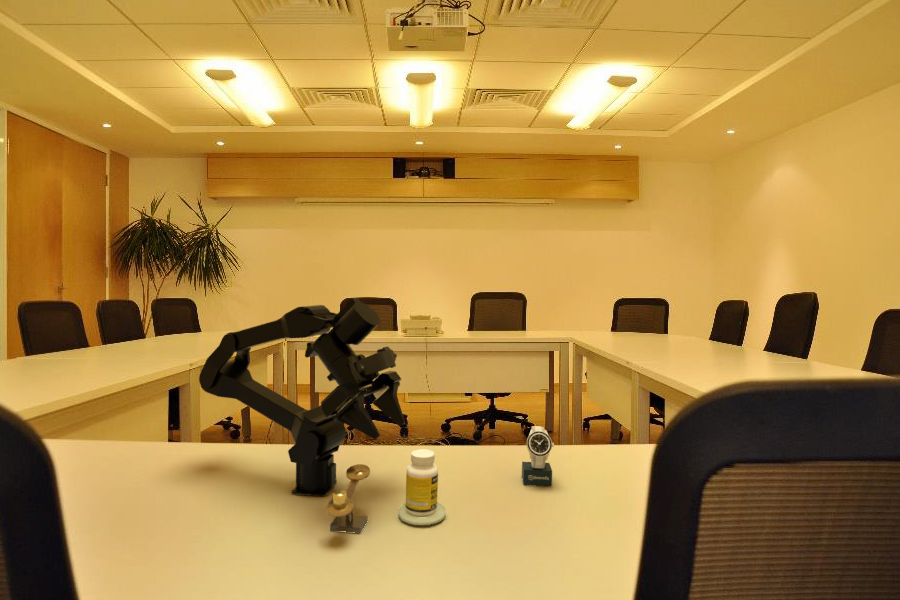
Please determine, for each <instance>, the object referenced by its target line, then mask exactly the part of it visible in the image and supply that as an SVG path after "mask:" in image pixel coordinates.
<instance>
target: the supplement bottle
mask: <svg viewBox="0 0 900 600" xmlns="http://www.w3.org/2000/svg"><path fill="white" fill-rule="evenodd" d="M435 458H436V456H435V451H432V450H431V449H415V450H413V451H412V452H411V453H410V461H411V463H410V464H408V465H407V468H406V473H405V474H406V477H405V478H406V479H405V480H406V481H405V487H406V488H405V503H406V504H405V508H406V511H407V512H408V513H410V514H412V515H416V516H427V515H430V514H433V513H434V512H435V511H436V509H437V502H438V488H439V468H438V467H437V465H436V464H435Z"/></svg>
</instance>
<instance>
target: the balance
mask: <svg viewBox="0 0 900 600" xmlns="http://www.w3.org/2000/svg"><path fill="white" fill-rule="evenodd" d="M370 474H371V469H370V467H369V466H368V465H366V464H363V463H362V464H360V463H358V464H354V465H351V466H349V467H347V469H346V472H345V475H346V478H347V479H349V480H351V481H350V483H349V485H348V486H347V489H346V490H336V491H334V492H333V493H332V495H333V496H332V498H333V499H332V500H330V501H329V502H328V503H327V505H326V513H327V514H328V515H329V516H331V517H334V519H333V520H332V521H331V523H330V525H329V532H333V531H346V532H355V533H361V534H362V532H363V530H364V529H365V527H366V525H367V524H368V522H369V515H364V514H354V509H355V508H354V505H355V504H354V492H355V490H356V489H357V486H358V485H359V482H360V481H363V480H365V479H367V478H368V477H369V476H370ZM367 521H368V522H367ZM366 523H367V524H366ZM365 524H366V525H365ZM364 526H365V527H364ZM363 528H364V529H363ZM362 529H363V530H362ZM361 531H362V532H361ZM355 533H354V534H355Z"/></svg>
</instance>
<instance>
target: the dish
mask: <svg viewBox="0 0 900 600" xmlns="http://www.w3.org/2000/svg"><path fill="white" fill-rule="evenodd" d="M405 504H406V502H405V503H402V504H401V505H400V506H399V508H398V517H399V519H400V520H402V521H403V522H405V523H406V524H409V525H412V524H413V525H412V526H416V525H428V526H431V524H432V525H435V524H437V523H439V522H441V521H442V520H444V519H445V518H446V514H447V513H446V512H447V509H446V507H445V505H443V504H442V503H440V502H438V501H437V509H436V511H435V512H434V513H433V514H430V515H427V516H416V515H412V514H410V513H408V512H407V511H406V508H405Z"/></svg>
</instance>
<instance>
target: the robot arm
mask: <svg viewBox="0 0 900 600" xmlns="http://www.w3.org/2000/svg"><path fill="white" fill-rule="evenodd" d="M380 324H381V320H380V316H379V315H378V313H377V311H376V310H375V309H373V308H371V307H370V306H369V305H367V304H366V303H364V302H362V301H361V300H360V299H359V298H358V297H353V298H352V297H351V298H349V300H347V302H346V303H345V304H344V306H343V307H342V309H341V310H339V312H338V313H335V312H332V311H330V309H329V308H327V307H326V306H325V305H324V304H318V305H317V304H315V305H306V306H305V305H304V306H303V305H302V306H297V307H295V308H293V309H292V310H290V311H287V312H286V313H284V314H283V315H282V316H281V317H280V318H278V319H276V320H272V321H269V322H266V323H262V324H258V325H255V326H252V327H248V328H244V329H242V330H237V331H231V332H227V333H225V334H224V335H223V337H222V338H221V341H220V343H219V344H218V346H217V347H216V348H215V349H214V350H213V352H211V354H210V355H208V357H206V358H207V359H206V360H205V362H204V365H203V367H202V368H201V370H200V372H199V373H200V374H199V378H198V381H199V384H200V385H199V386H200V387H201V389H202V390H203V391H204V392H205V393H207V394H210V395H212V396H215V397H217V398H226V399H234V400H236V401H238V402H240V403H242V404H243V405H246V407H249V408H250V409H252V410H254V411H256V412H257V413H259V414H260V415H263V416H264V417H266V418H267V419H269V420H270V421H272V422H273V423H275V424H277V425H279V426H281V427H282V428H284V429H286V430H287V431H289V432H290V434H291V436H292V438H293V440H294V443H295V444H294V445H292V446H291V447H290V448H289V449H288V452H287V453H288V457H289V461H290V462H291V463H293V464H294V463H295V487H294V488H293V489H292V490H291V494H293V495H304V496H315V497H325V496H327V495H328V493H329V492H330V491H331V489H333V488H334V487H335V485H336V484H337V482H338V481H337V463H336V462H334V461H335V459H334V456H335V455H334V454H333V453H337V452H338V451H339V450H340V449H339V448H340V446H341V444H342V443H343V442H344V441H345V438H346V435H347V433H346V432H347V431H346V427H345V425H347V426H349V427H351V428H353V429H355V430H357V431H359V432H361V433H362V434H364V435H366V436H368V437H369V438H371V439H374V440H377V439H379V437H380V435H381V434H380V432H379V430H378V428H377V426H376V425H375V423H374V421H373V420H372V417H371V416H370V414H369V413H368V411H367V409H366V408H365V397H368V398H369V399H370V400H372V401H373V402H372V405H374V406H375V407H376V408H377V409H378V410H380V411H381V412H383V413H384V414H385V415H386V416H387V417H388V418H390V419H391V420H392V421H393V422H395V424H397V425H398V426H400V427H401V426H403V425H405V423H406V420H405V419H406V418H405V417H404V414H403V412H402V408H401V405H400V403H399V398H398V391H399V390H398V389H399V387H400V386H401V383H400V382H401V381H402V377H401V376H400V375H399V374H398V372H397V371H395V370H388V371H385V370H387V369H389V368H391V369H393V368H395V367H397V364H396V360H397V357H398V355H397V353H396V352H395V351H394V350H393V349H391V348H390V347H389V346H383V347H382V348H378V349H377V350H376V353H373V354H371V355H368V356H365V355H364V354H361V353H360V354H357V353H355V351H354V349H353V348H352V347H351V345H354V346H359V345H360V344H361V343H362V342H363V341H364V340H366V338H367V337H368V336H369V335H370V334H371V333H372V332H373V331H374V330H375V329H376V328H377V327H378V326H379V325H380ZM317 336H318V337H317ZM310 337H317V338H316V339H315V340H314V341H310V342H307V343H306V349H305V352H304V357H305V358H313V357H316V356H317V357H318V359H319V360H320V361H321V363H322V365H324V367H325V368H326V370H327V372H329V374H327V376H326V378H327V380H328V381H329V382H332V381H335V383H336V384H337V386H336V387H335V388H334V389H333V390H332V391H330V393H328V394H327V395H326V396H325V398H323V400H322V401H321V402H320V405H318V406H316V407H315V406H314V407H313V408H311V409H305V408H304V407H302V406H301V405H298V404H297V403H295V402H293V401H291V400H290V399H288V398H287V397H284V396H283V395H281V394H279V393H277V392H276V391H274V390H272V389H271V388H269V387H267V386H265V385H264V384H262V383H260V382H259V381H257V380H255V379H253V376H252V374H251V371H250V370H249V368H248V367H249V365H250V363H251V355H250V352H251V349H252V348H254V347H258V346H261V345H266V344H269V343H273V342H276V341H280V340H284V339H303V338H310ZM234 353H236V355H235V357H234V359H232V357H233V355H234ZM230 359H231V360H230ZM383 371H385V372H383ZM379 372H381V373H379Z"/></svg>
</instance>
